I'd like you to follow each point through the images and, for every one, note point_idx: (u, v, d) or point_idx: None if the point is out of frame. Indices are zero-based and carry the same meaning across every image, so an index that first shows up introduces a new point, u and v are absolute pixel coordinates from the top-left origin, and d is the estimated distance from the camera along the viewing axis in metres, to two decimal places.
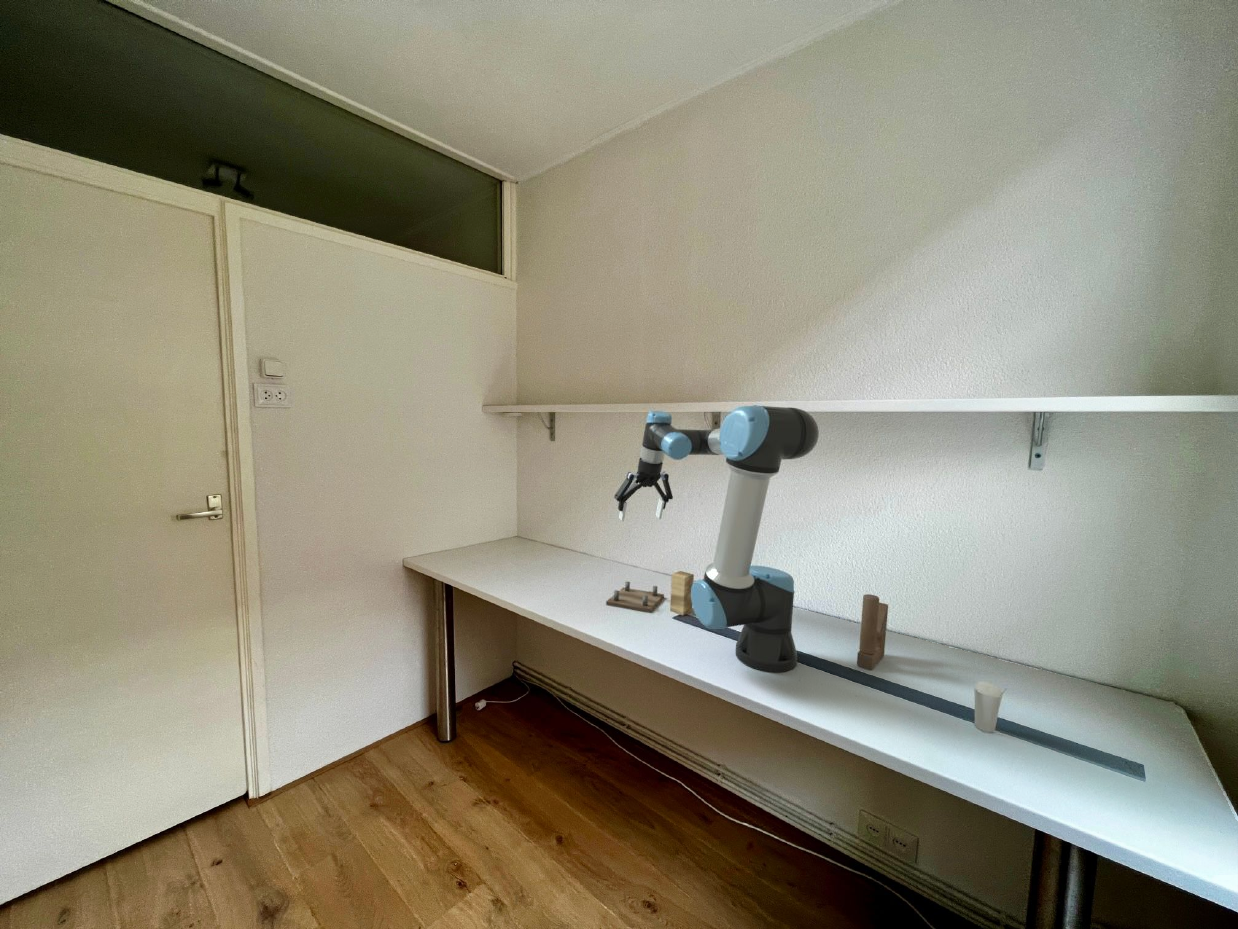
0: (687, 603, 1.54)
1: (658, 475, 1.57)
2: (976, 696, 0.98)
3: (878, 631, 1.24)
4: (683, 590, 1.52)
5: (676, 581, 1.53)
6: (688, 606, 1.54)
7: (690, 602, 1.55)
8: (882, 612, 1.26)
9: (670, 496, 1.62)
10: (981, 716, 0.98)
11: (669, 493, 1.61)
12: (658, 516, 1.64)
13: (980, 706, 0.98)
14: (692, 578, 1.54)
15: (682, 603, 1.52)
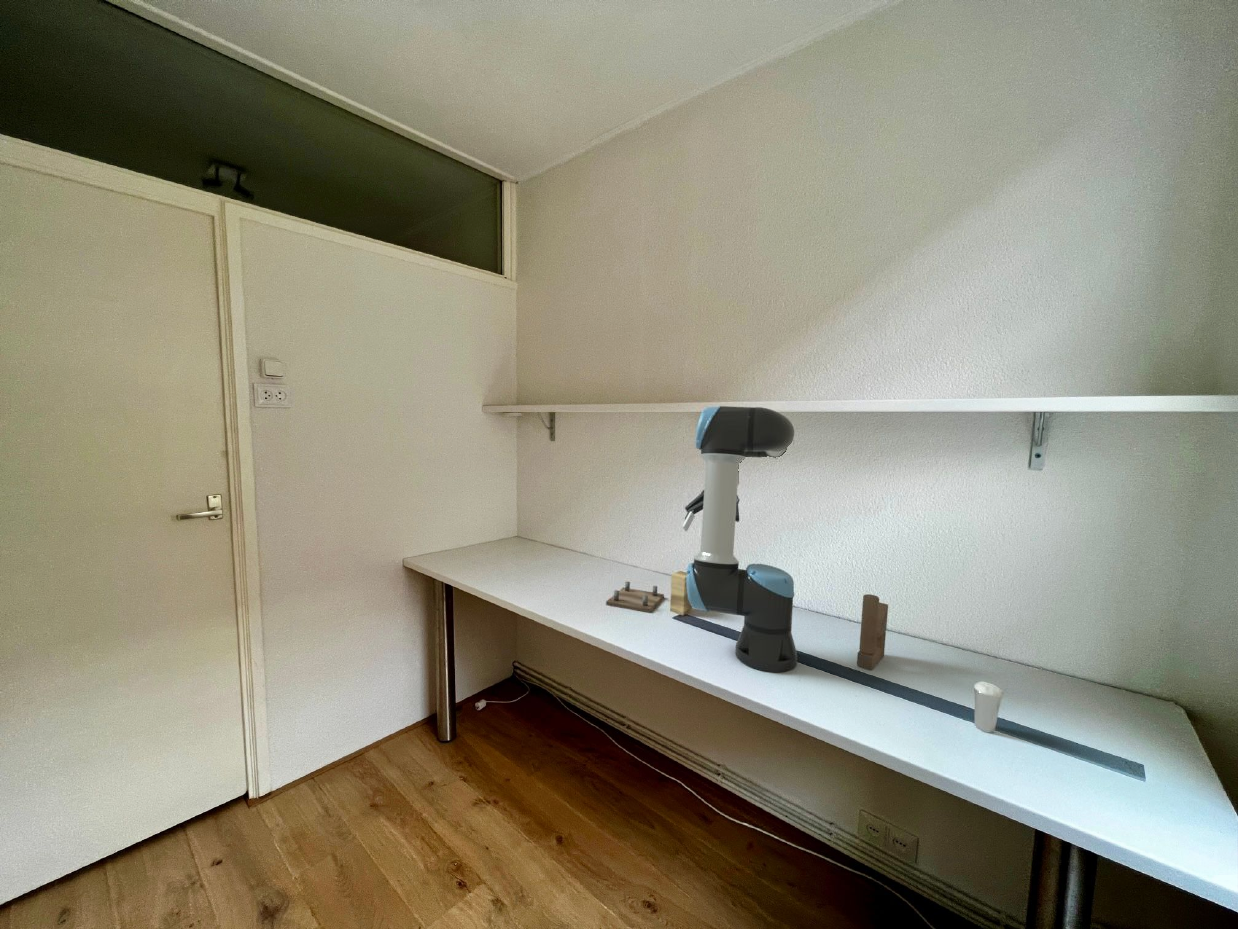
0: (687, 603, 1.54)
1: None
2: (976, 696, 0.98)
3: (878, 631, 1.24)
4: (683, 590, 1.52)
5: (676, 581, 1.53)
6: (688, 606, 1.54)
7: None
8: (882, 612, 1.26)
9: None
10: (981, 716, 0.98)
11: None
12: None
13: (980, 706, 0.98)
14: None
15: (682, 603, 1.52)
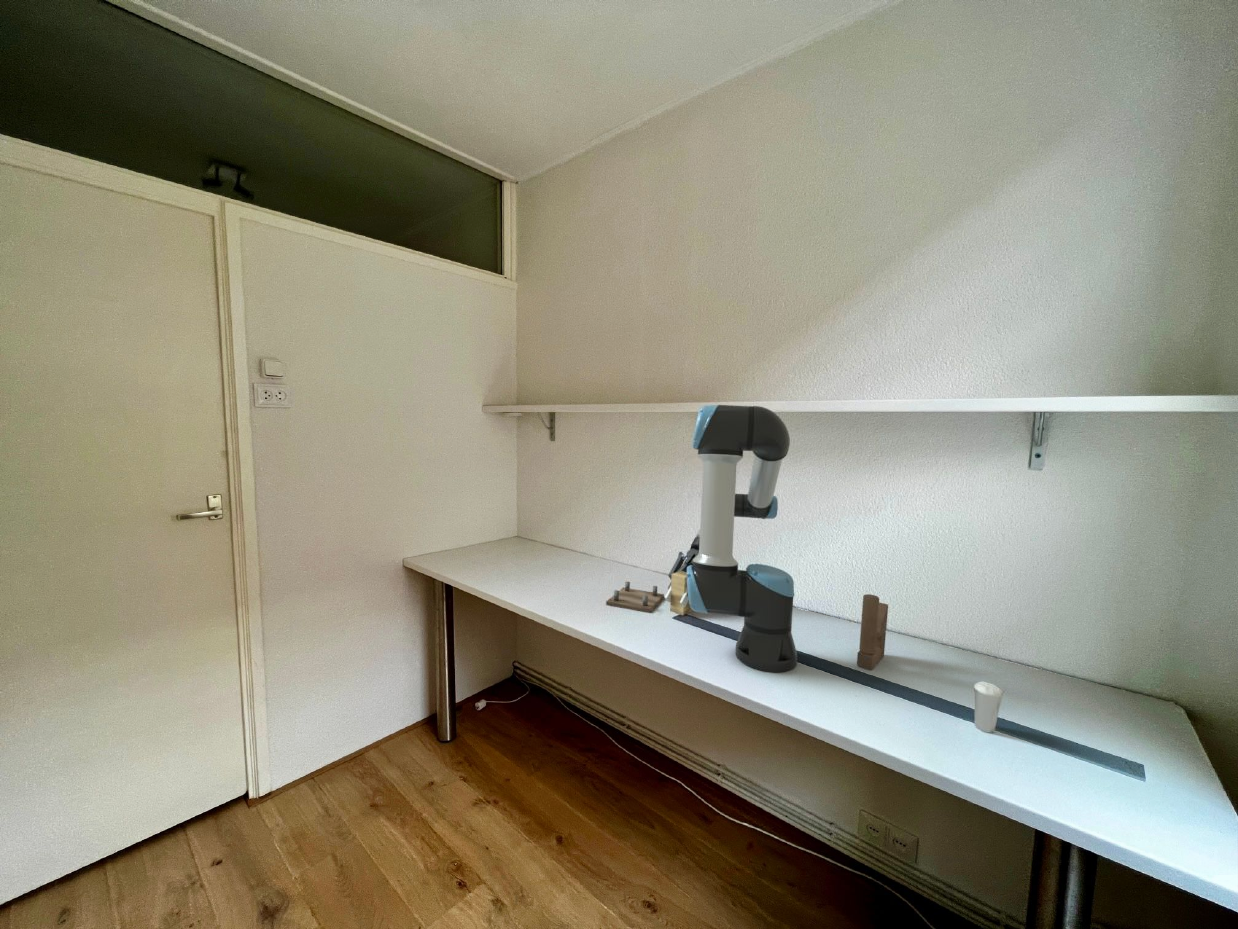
0: (687, 603, 1.54)
1: None
2: (976, 696, 0.98)
3: (878, 631, 1.24)
4: (683, 590, 1.52)
5: (676, 581, 1.53)
6: (688, 606, 1.54)
7: None
8: (882, 612, 1.26)
9: None
10: (981, 716, 0.98)
11: None
12: None
13: (980, 706, 0.98)
14: None
15: None
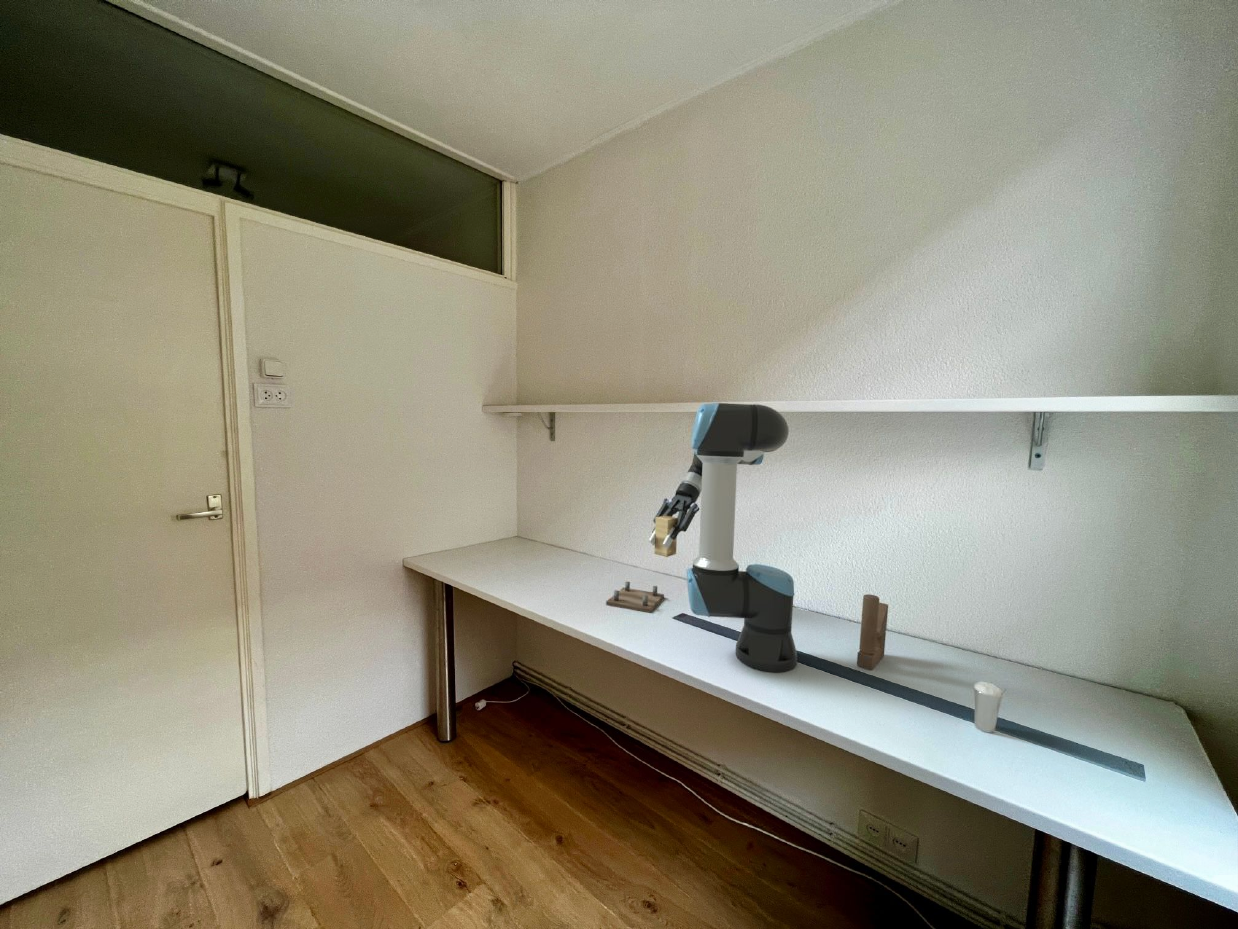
0: (671, 546, 1.57)
1: (689, 499, 1.61)
2: (976, 696, 0.98)
3: (878, 631, 1.24)
4: (666, 533, 1.55)
5: (660, 524, 1.57)
6: (672, 548, 1.57)
7: (674, 544, 1.58)
8: (882, 612, 1.26)
9: (682, 524, 1.55)
10: (981, 716, 0.98)
11: (684, 520, 1.56)
12: None
13: (980, 706, 0.98)
14: None
15: None
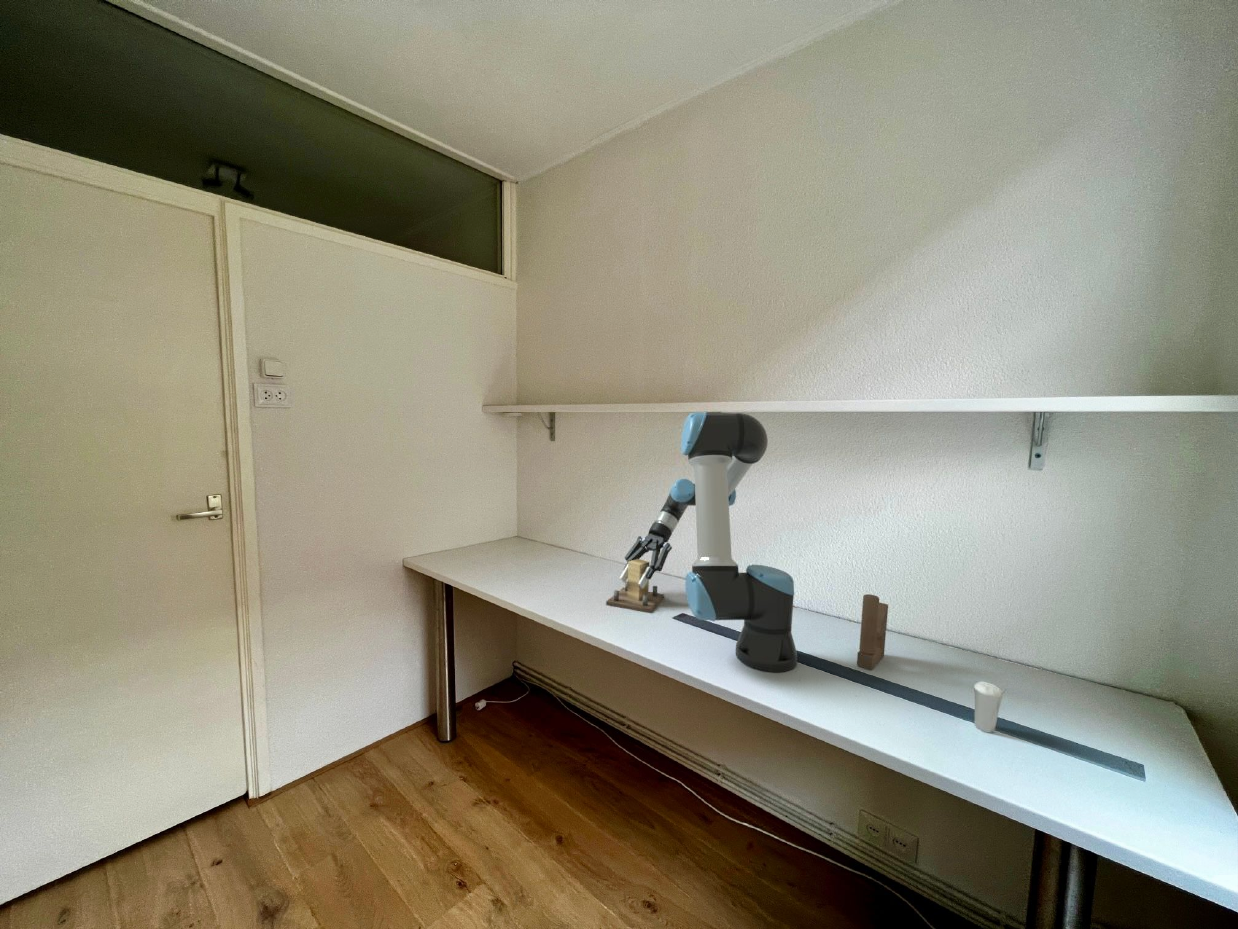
0: (643, 589, 1.62)
1: (662, 539, 1.66)
2: (976, 696, 0.98)
3: (878, 631, 1.24)
4: (638, 577, 1.60)
5: (632, 568, 1.61)
6: (644, 592, 1.62)
7: (646, 588, 1.63)
8: (882, 613, 1.26)
9: (657, 564, 1.60)
10: (981, 716, 0.98)
11: (658, 560, 1.60)
12: None
13: (980, 706, 0.98)
14: (648, 565, 1.63)
15: (638, 589, 1.60)
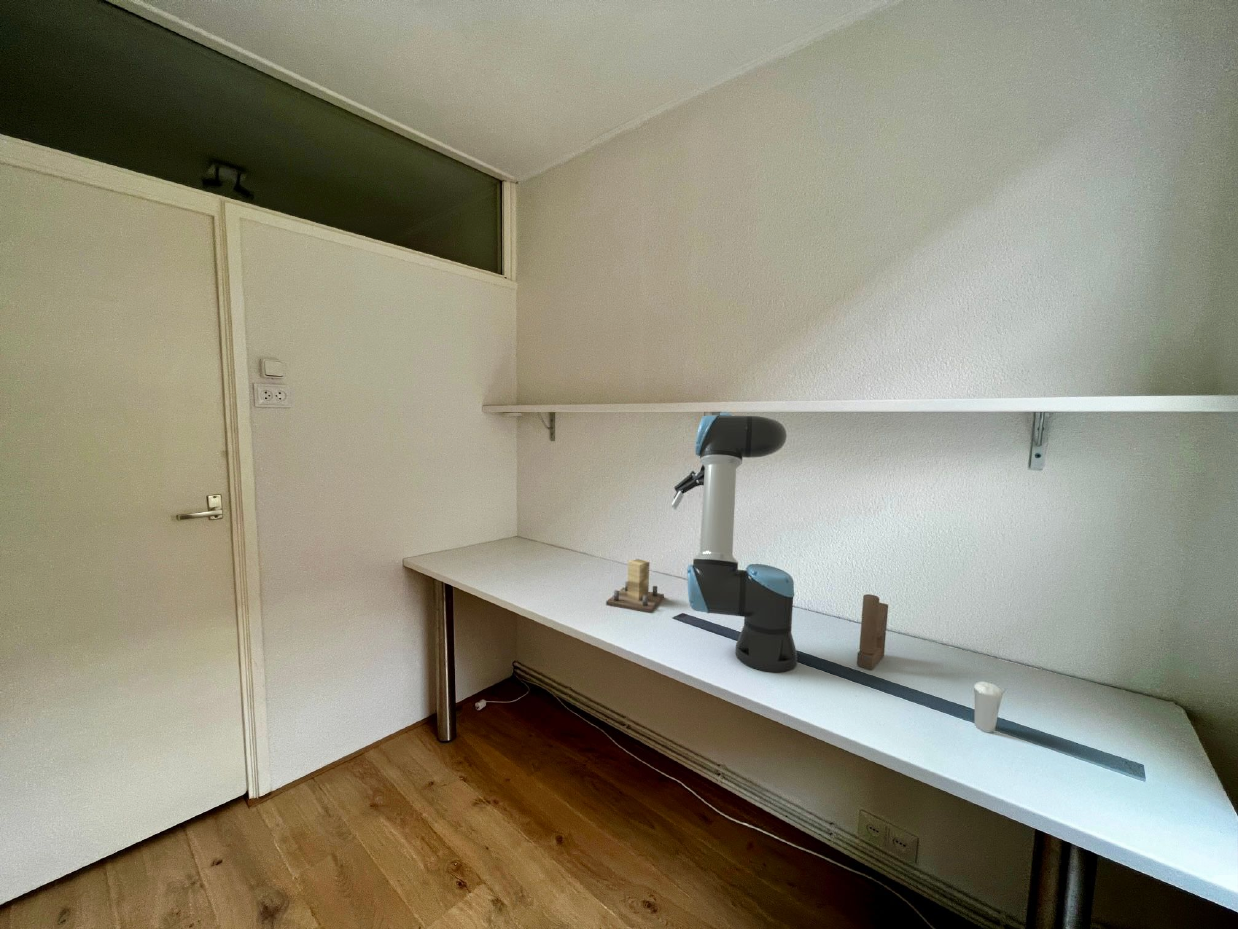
0: (643, 589, 1.62)
1: None
2: (976, 696, 0.98)
3: (878, 631, 1.24)
4: (638, 577, 1.60)
5: (632, 568, 1.61)
6: (644, 592, 1.62)
7: (646, 588, 1.63)
8: (882, 613, 1.26)
9: None
10: (981, 716, 0.98)
11: None
12: None
13: (980, 706, 0.98)
14: (648, 565, 1.63)
15: (638, 589, 1.60)
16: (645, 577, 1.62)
